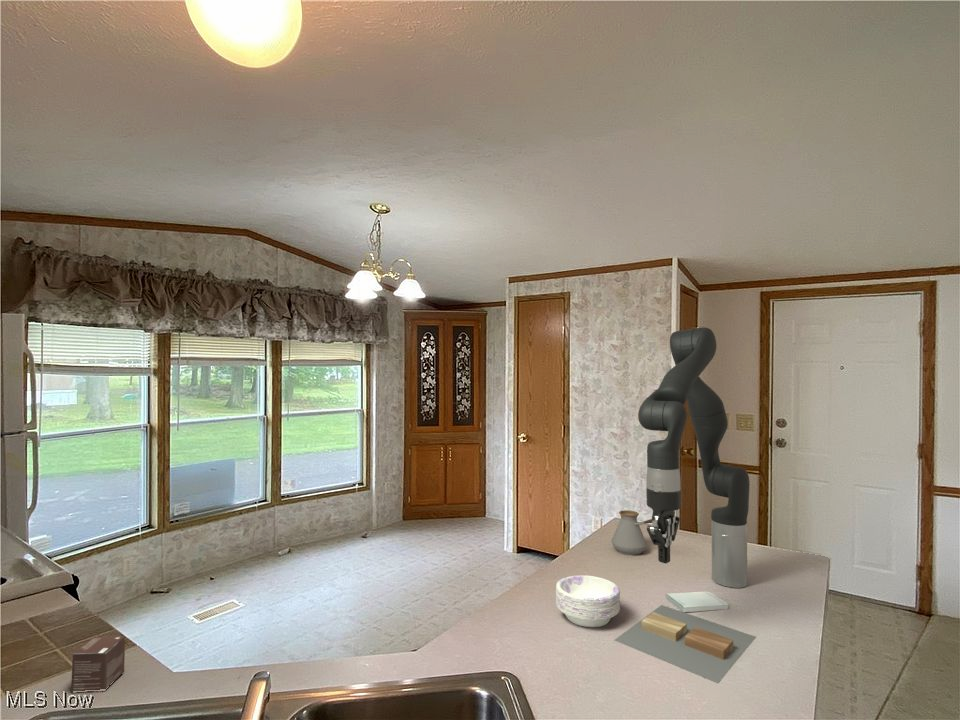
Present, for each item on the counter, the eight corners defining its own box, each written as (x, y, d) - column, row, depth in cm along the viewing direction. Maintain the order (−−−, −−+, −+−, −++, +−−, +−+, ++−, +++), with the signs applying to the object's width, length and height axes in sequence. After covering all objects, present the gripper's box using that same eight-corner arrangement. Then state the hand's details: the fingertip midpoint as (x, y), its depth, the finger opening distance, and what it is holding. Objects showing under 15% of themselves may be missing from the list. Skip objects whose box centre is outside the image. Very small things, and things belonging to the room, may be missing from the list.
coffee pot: (604, 548, 171) (604, 504, 171) (629, 543, 176) (629, 500, 176) (652, 570, 152) (651, 520, 152) (678, 563, 157) (678, 515, 157)
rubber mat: (661, 606, 128) (661, 604, 128) (756, 638, 112) (756, 636, 112) (614, 641, 110) (614, 639, 111) (717, 685, 95) (717, 683, 95)
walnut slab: (695, 626, 113) (684, 636, 109) (733, 640, 107) (723, 651, 103) (695, 635, 113) (684, 645, 109) (733, 648, 107) (723, 659, 103)
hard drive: (684, 606, 123) (728, 603, 126) (665, 593, 131) (707, 590, 134) (684, 613, 123) (728, 610, 126) (665, 599, 131) (707, 596, 134)
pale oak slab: (653, 612, 120) (641, 620, 116) (686, 623, 114) (675, 633, 110) (653, 619, 120) (641, 628, 116) (686, 631, 114) (675, 641, 110)
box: (92, 674, 97) (94, 636, 98) (125, 673, 98) (126, 635, 98) (69, 694, 91) (71, 653, 92) (104, 692, 92) (105, 652, 92)
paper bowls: (572, 599, 132) (572, 568, 132) (628, 615, 123) (628, 582, 123) (544, 622, 119) (544, 588, 120) (605, 642, 110) (605, 605, 111)
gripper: (660, 479, 123) (661, 550, 123) (634, 488, 114) (635, 565, 113) (690, 484, 118) (691, 558, 117) (666, 494, 108) (667, 574, 108)
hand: (664, 561), depth 115 cm, fingers closed
